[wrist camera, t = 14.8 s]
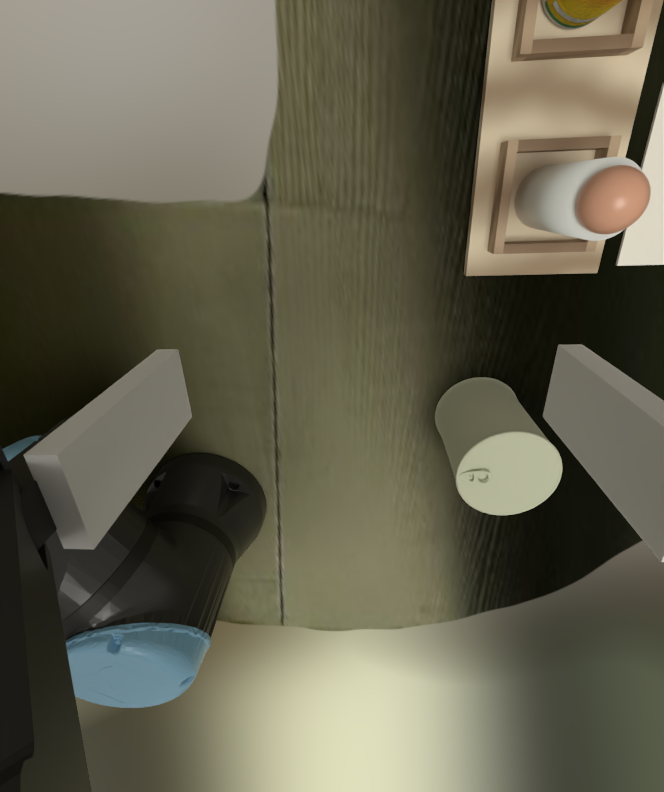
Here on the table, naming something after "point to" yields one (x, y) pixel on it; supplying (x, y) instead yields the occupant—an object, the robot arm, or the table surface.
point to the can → (495, 448)
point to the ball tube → (584, 198)
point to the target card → (660, 223)
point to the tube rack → (550, 123)
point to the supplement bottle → (576, 11)
